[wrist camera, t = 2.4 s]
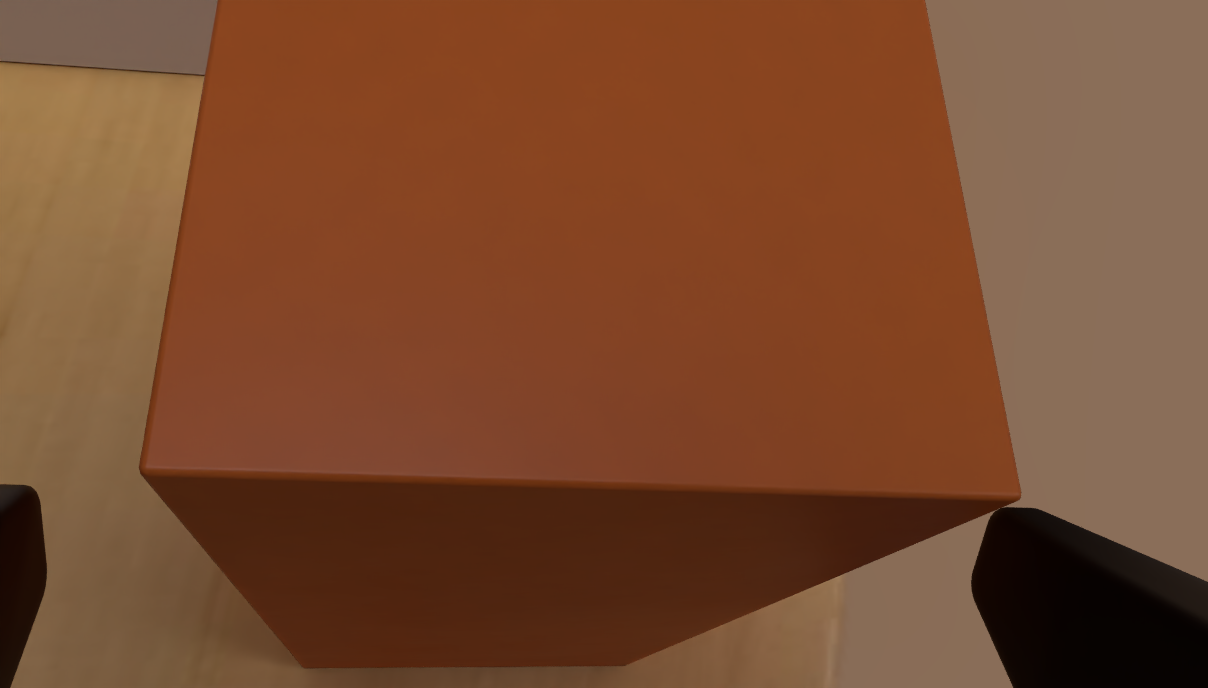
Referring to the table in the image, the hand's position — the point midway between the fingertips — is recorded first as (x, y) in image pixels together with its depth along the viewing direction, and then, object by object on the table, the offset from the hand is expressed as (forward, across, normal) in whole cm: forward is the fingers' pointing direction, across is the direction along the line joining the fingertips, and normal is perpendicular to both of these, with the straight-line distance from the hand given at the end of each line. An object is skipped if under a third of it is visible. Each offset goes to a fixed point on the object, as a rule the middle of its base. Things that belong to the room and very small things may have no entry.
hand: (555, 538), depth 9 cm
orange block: (+9, 0, +5) cm, 10 cm away
